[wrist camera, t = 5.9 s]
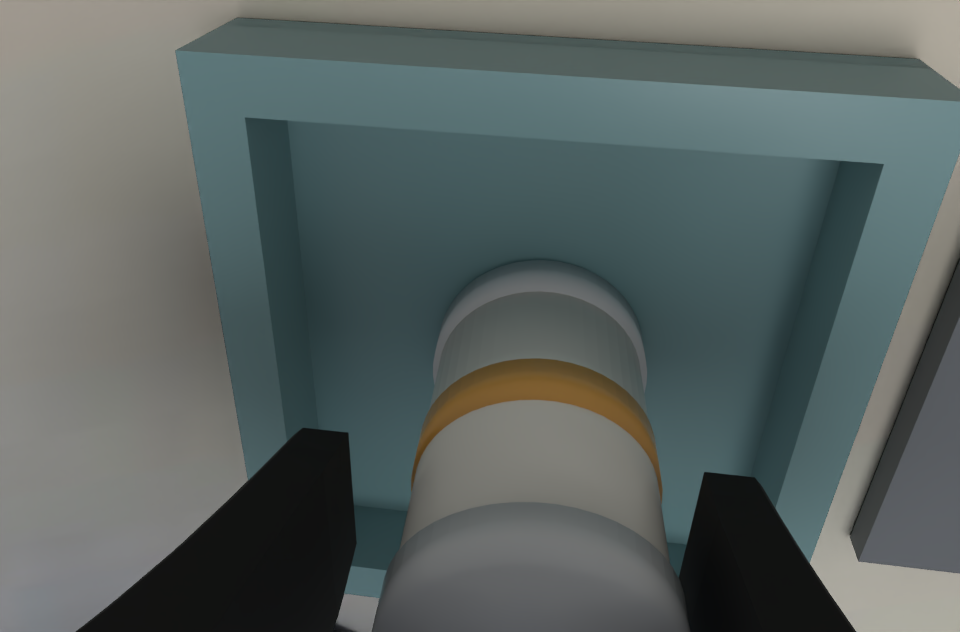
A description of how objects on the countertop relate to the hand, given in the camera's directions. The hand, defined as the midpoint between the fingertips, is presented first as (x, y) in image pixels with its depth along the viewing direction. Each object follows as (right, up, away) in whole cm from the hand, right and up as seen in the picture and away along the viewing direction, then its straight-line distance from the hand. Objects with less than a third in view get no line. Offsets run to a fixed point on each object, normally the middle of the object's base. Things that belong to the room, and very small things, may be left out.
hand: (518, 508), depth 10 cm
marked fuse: (0, +2, +3) cm, 4 cm away
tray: (+1, +2, +4) cm, 4 cm away
